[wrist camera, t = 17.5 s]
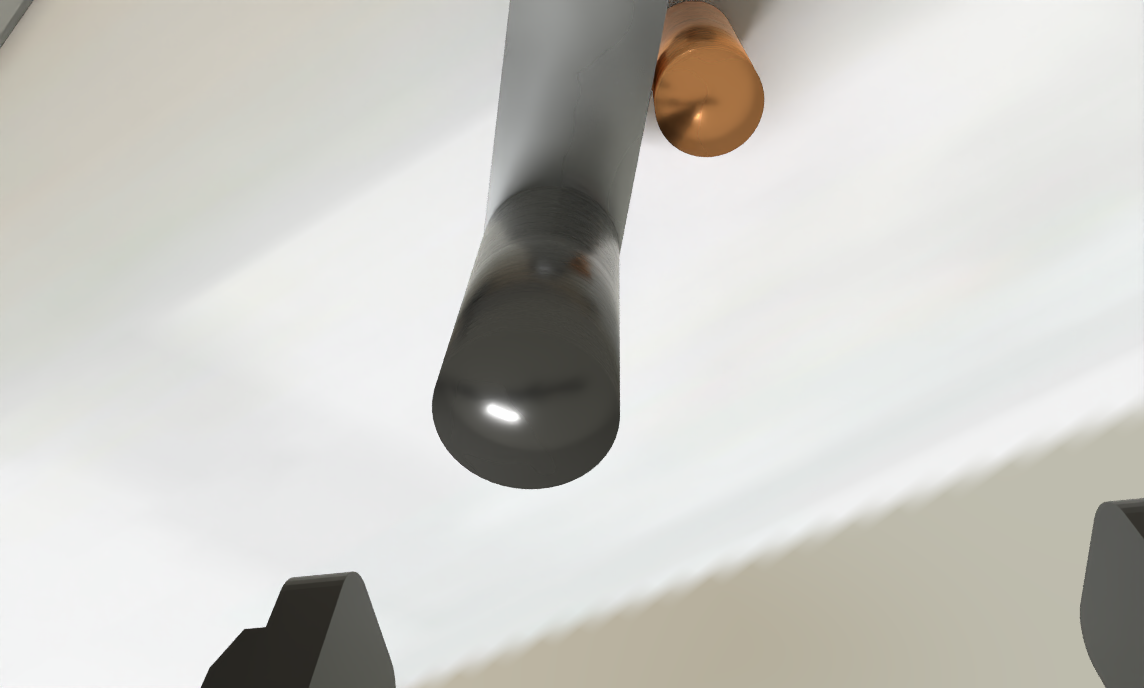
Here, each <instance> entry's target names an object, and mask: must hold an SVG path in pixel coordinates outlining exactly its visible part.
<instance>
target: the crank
mask: <svg viewBox="0 0 1144 688" xmlns="http://www.w3.org/2000/svg"><path fill="white" fill-rule="evenodd" d="M668 1H669V0H510V5H509V14H508V23H507V32H506V41H505V50H504V58H503V67H502V76H501V85H500V94H499V103H498V112H497V121H496V129H495V138H494V147H493V156H492V165H491V174H490V183H489V192H488V200H487V209H486V218H485V227H484V235H483V239H482V242H481V245H480V248H479V251H478V254H477V257H476V260H475V264H474V267H473V270H472V273H471V276H470V279H469V282H468V286H467V289H466V292H465V295H464V298H463V301H462V304H461V308H460V311H459V314H458V317H457V320H456V323H455V326H454V329H453V333H452V336H451V339H450V342H449V345H448V348H447V351H446V355H445V358H444V361H443V364H442V367H441V370H440V373H439V376H438V380H437V383H436V386H435V389H434V394H433V399H432V413H433V420H434V424H435V427H436V430H437V433H438V435H439V437H440V439H441V441H442V443H443V444H444V446H445V447H446V449H447V450H448V451H449V453H450V454H451V455H452V456H453V457H454V458H455V459H456V460H457V461H458V462H459V463H460V464H461V465H462V466H464V467H465V468H466V469H468V470H469V471H471V472H472V473H474V474H476V475H478V476H479V477H481V478H483V479H486V480H488V481H490V482H493V483H496V484H499V485H502V486H507V487H512V488H520V489H542V488H550V487H554V486H559V485H562V484H565V483H568V482H571V481H573V480H575V479H577V478H579V477H581V476H583V475H584V474H586V473H587V472H589V471H590V470H592V469H593V468H594V467H595V466H596V465H598V464H599V463H600V461H601V460H602V459H603V458H604V457H605V456H606V454H607V453H608V451H609V450H610V448H611V447H612V445H613V443H614V440H615V438H616V435H617V432H618V428H619V421H620V337H619V255H620V249H621V244H622V239H623V234H624V229H625V224H626V218H627V213H628V208H629V203H630V198H631V193H632V187H633V182H634V177H635V172H636V167H637V162H638V156H639V151H640V146H641V141H642V136H643V131H644V125H645V120H646V115H647V110H648V105H649V100H650V94H651V89H652V84H653V79H654V74H655V69H656V63H657V58H658V53H659V48H660V43H661V37H662V32H663V27H664V22H665V17H666V12H667V6H668Z"/></svg>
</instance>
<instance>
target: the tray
mask: <svg viewBox="0 0 1144 688" xmlns="http://www.w3.org/2000/svg"><path fill="white" fill-rule="evenodd" d="M32 1H33V0H0V48H1V46H2V45H3V43H4V42H5V40H6V39H7V37H8V36H9V35H10V33H11V32H12V30H13V29H14V27H15V26H16V24H17V23H18V22H19V20H20V19H21V17H22V16H23V14H24V13H25V11H26V10H27V9H28V7H29V6H30V4H31V3H32Z"/></svg>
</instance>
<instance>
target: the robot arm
mask: <svg viewBox="0 0 1144 688" xmlns="http://www.w3.org/2000/svg"><path fill="white" fill-rule="evenodd" d="M1080 622H1081V629H1082V634H1083V639H1084V643H1085V646H1086V649H1087V652H1088V655H1089V657H1090V660H1091V662H1092V664H1093V666H1094V668H1095V670H1096V672H1097V673H1098V675H1099V676H1100V678H1101V680H1102V682H1103V684H1104V685H1105V687H1106V688H1144V498H1140V499H1131V500H1120V501H1109V502H1104V503H1102V504H1101V505H1100V506H1099V507H1098V509H1097V511H1096V514H1095V518H1094V524H1093V530H1092V536H1091V542H1090V549H1089V555H1088V561H1087V567H1086V573H1085V579H1084V585H1083V592H1082V598H1081V604H1080ZM201 688H396V686H395V676H394V670H393V665H392V662H391V659H390V656H389V653H388V650H387V647H386V644H385V642H384V639H383V636H382V633H381V630H380V627H379V624H378V621H377V618H376V615H375V613H374V610H373V607H372V604H371V601H370V598H369V595H368V592H367V589H366V587H365V584H364V582H363V580H362V578H361V576H360V575H359V574H358V573H356V572H345V573H334V574H324V575H313V576H303V577H293V578H290V579H289V580H287V581H286V582H285V584H284V585H283V587H282V589H281V591H280V594H279V596H278V599H277V601H276V604H275V606H274V608H273V611H272V613H271V616H270V618H269V621H268V623H267V626H266V627H263V628H252V629H244V630H243V631H242V632H241V634H240V635H239V636H238V637H237V638H236V639H235V640H234V641H233V642H232V644H231V645H230V646H229V647H228V648H227V649H226V650H225V651H224V652H223V654H222V655H221V656H220V657H219V658H218V659H217V660H216V661H215V663H214V664H213V665H212V666H211V667H210V668H209V671H208V673H207V675H206V677H205V679H204V682H203V684H202V686H201Z"/></svg>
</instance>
